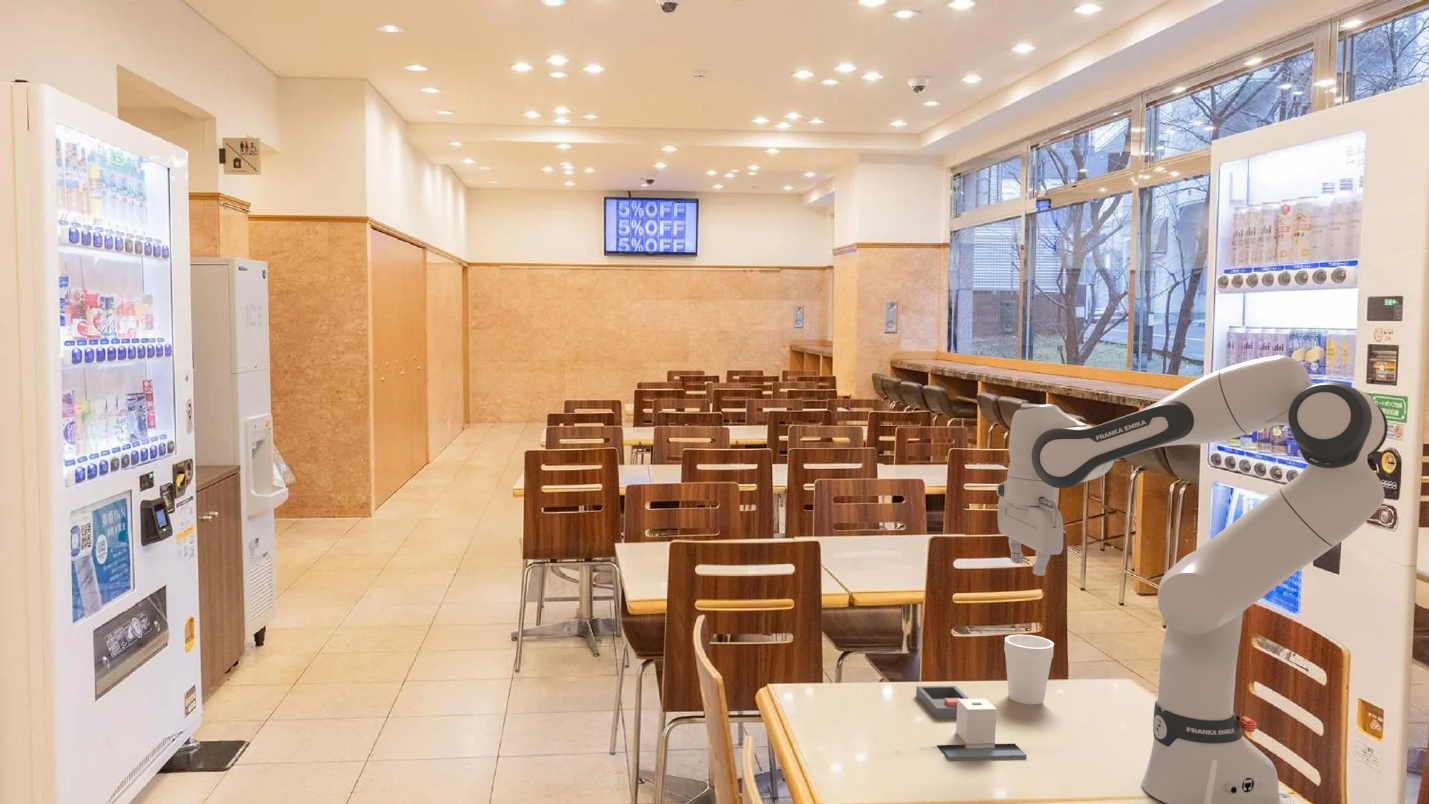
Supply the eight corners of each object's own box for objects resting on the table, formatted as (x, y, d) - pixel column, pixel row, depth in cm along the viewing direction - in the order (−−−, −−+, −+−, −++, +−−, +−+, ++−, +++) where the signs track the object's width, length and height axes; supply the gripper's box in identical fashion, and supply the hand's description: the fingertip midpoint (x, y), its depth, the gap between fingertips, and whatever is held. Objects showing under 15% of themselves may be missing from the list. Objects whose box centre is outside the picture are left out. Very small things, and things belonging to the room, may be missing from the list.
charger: (983, 736, 188) (985, 697, 188) (994, 747, 183) (996, 708, 183) (955, 736, 188) (957, 698, 187) (966, 748, 183) (968, 708, 182)
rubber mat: (998, 731, 192) (999, 728, 192) (1026, 758, 180) (1026, 754, 180) (926, 733, 191) (926, 729, 190) (948, 760, 179) (949, 756, 179)
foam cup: (1056, 703, 208) (1059, 640, 207) (1044, 717, 200) (1047, 651, 199) (1008, 693, 213) (1012, 631, 212) (995, 707, 205) (998, 642, 204)
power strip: (954, 702, 207) (955, 681, 207) (977, 725, 195) (978, 703, 195) (915, 703, 206) (916, 682, 205) (936, 726, 194) (937, 704, 194)
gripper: (1075, 503, 178) (1070, 582, 179) (1024, 484, 198) (1020, 556, 199) (1040, 502, 177) (1035, 582, 178) (993, 484, 197) (989, 556, 198)
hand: (1027, 568), depth 189 cm, fingers open, 8 cm apart
